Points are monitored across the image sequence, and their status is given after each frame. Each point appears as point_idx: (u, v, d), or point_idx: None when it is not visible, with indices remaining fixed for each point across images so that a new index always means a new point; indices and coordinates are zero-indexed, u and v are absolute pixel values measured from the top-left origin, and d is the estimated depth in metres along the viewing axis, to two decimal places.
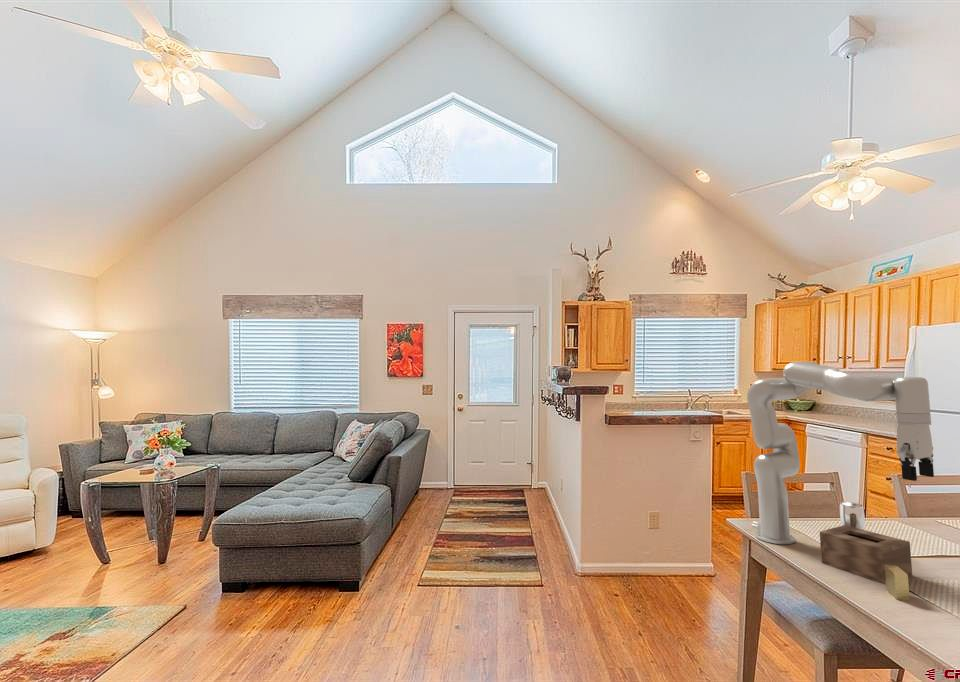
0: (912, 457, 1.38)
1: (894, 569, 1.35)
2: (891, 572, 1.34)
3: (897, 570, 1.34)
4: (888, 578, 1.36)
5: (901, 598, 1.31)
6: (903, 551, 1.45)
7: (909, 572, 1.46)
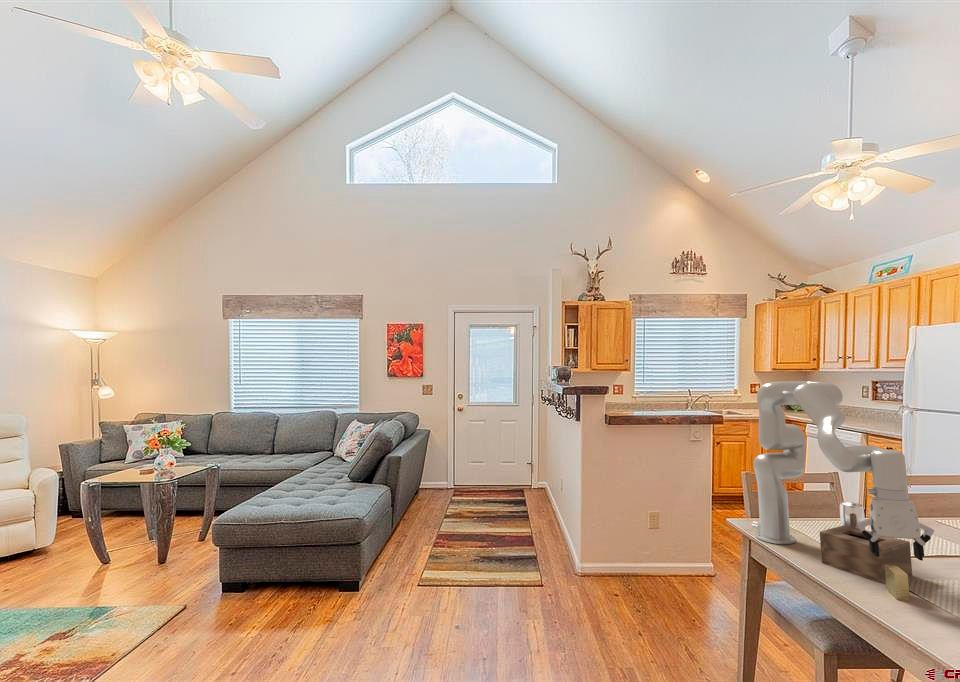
0: None
1: (894, 569, 1.35)
2: (891, 572, 1.34)
3: (897, 570, 1.34)
4: (888, 578, 1.36)
5: (901, 598, 1.31)
6: (903, 551, 1.45)
7: (909, 572, 1.46)
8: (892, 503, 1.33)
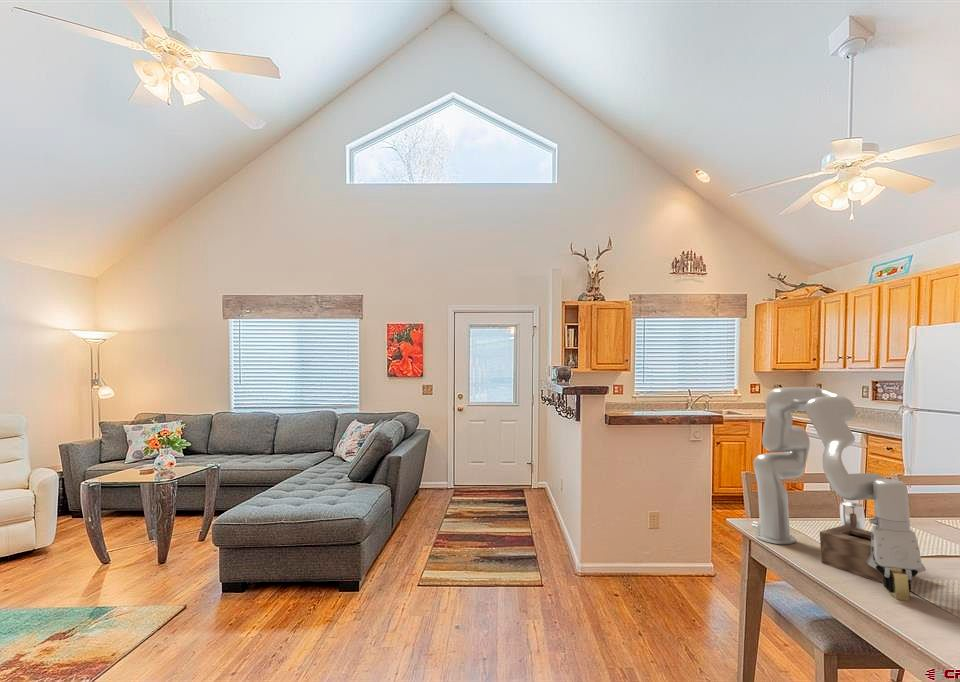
0: None
1: (894, 569, 1.35)
2: (891, 572, 1.34)
3: (897, 570, 1.34)
4: None
5: (901, 598, 1.31)
6: None
7: None
8: (894, 533, 1.33)
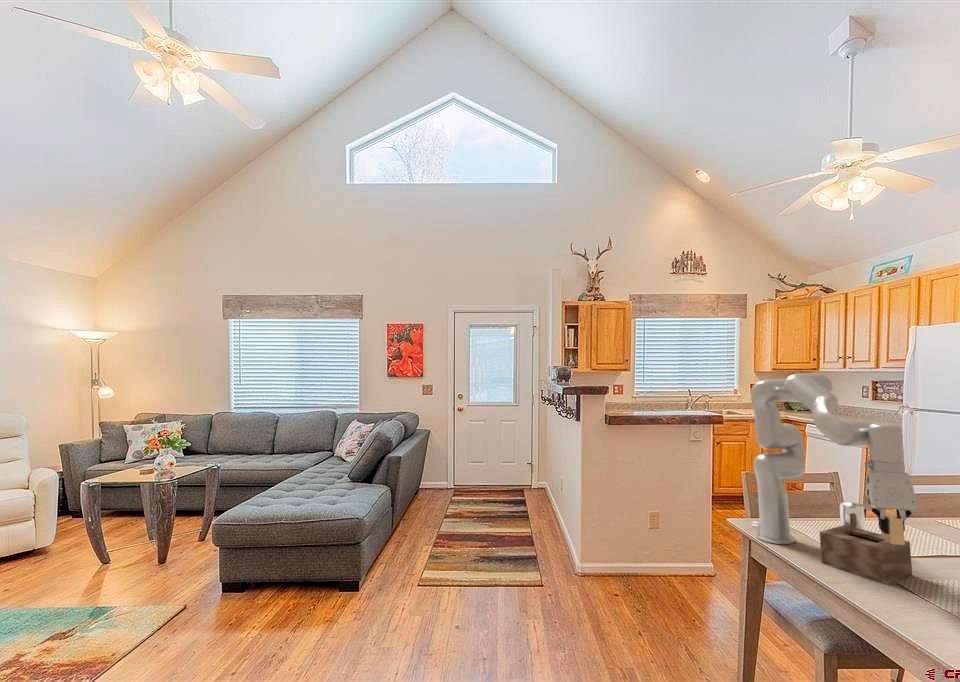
0: None
1: (889, 515, 1.36)
2: (886, 518, 1.35)
3: (892, 516, 1.35)
4: None
5: (896, 542, 1.33)
6: (903, 551, 1.45)
7: (909, 572, 1.46)
8: (889, 475, 1.34)
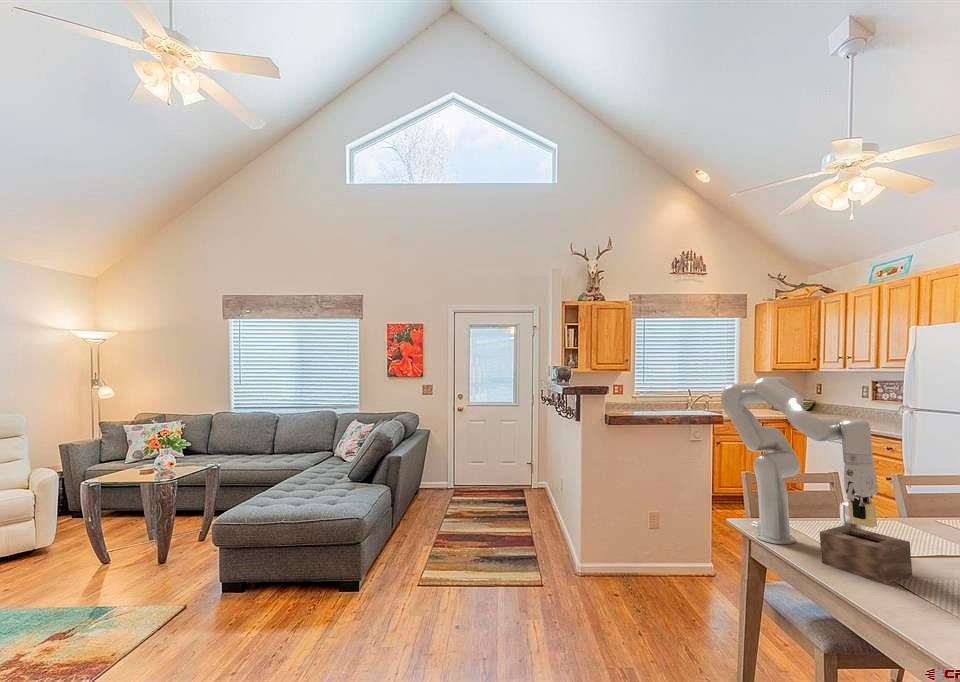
0: None
1: None
2: None
3: (863, 502, 1.52)
4: None
5: (873, 525, 1.49)
6: (903, 551, 1.45)
7: (909, 572, 1.46)
8: (866, 466, 1.51)
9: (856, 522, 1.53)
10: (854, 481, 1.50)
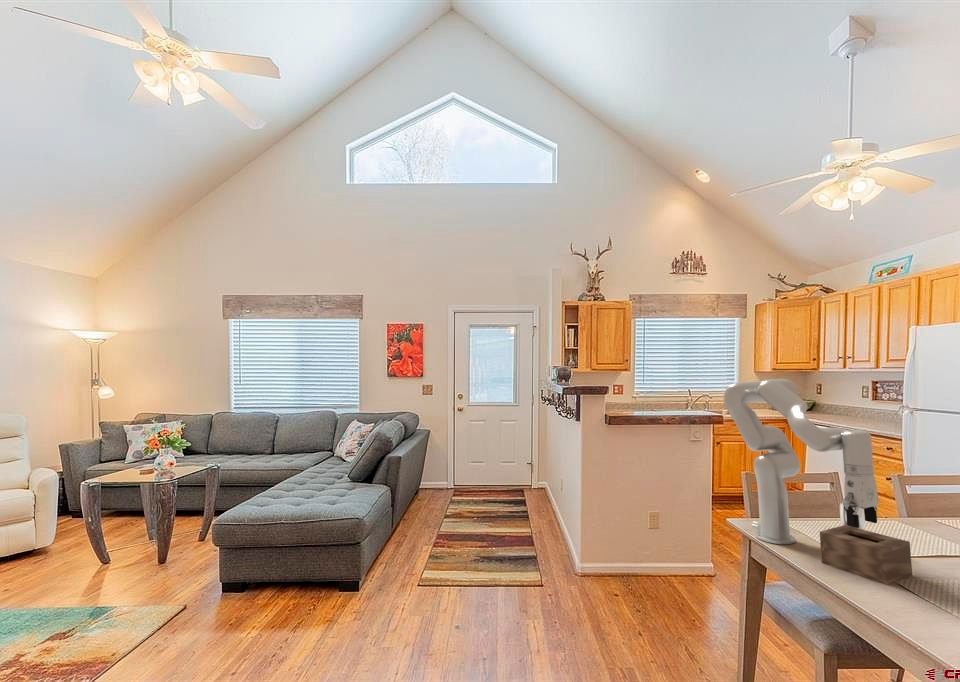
0: None
1: None
2: None
3: None
4: None
5: None
6: (903, 551, 1.45)
7: (909, 572, 1.46)
8: (867, 477, 1.51)
9: None
10: (854, 492, 1.50)
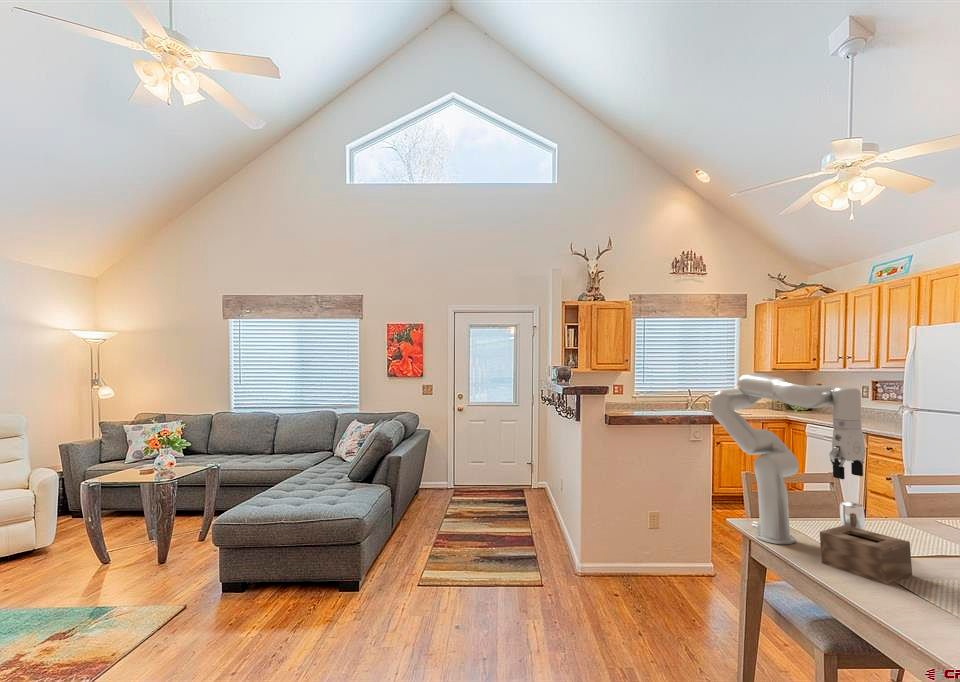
0: None
1: None
2: None
3: None
4: None
5: None
6: (903, 551, 1.45)
7: (909, 572, 1.46)
8: (854, 431, 1.56)
9: None
10: (841, 445, 1.56)
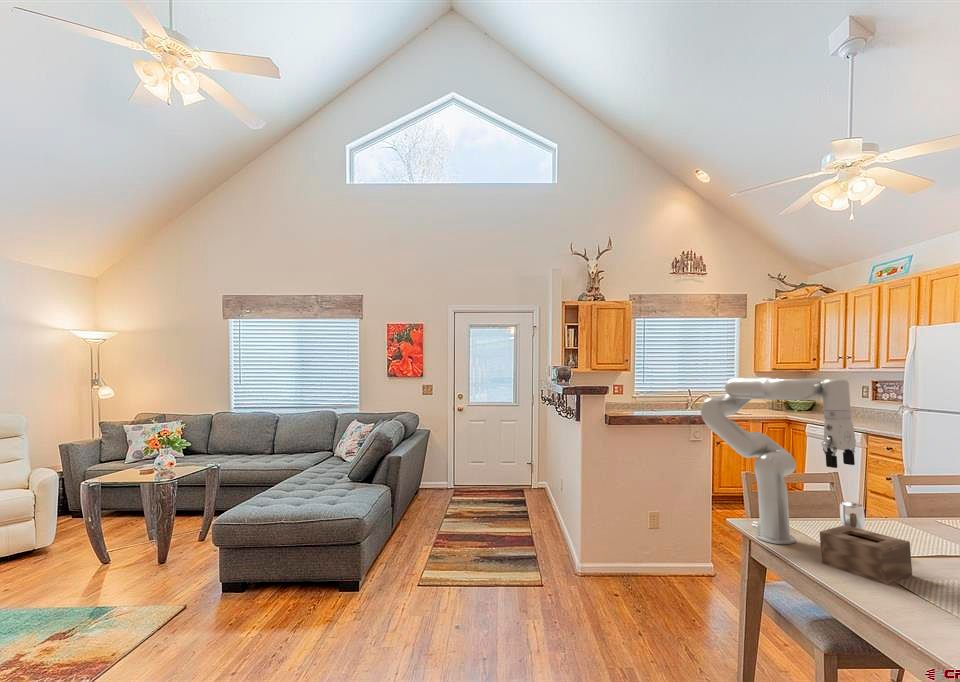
0: None
1: None
2: None
3: None
4: None
5: None
6: (903, 551, 1.45)
7: (909, 572, 1.46)
8: (845, 421, 1.61)
9: None
10: (833, 435, 1.60)
